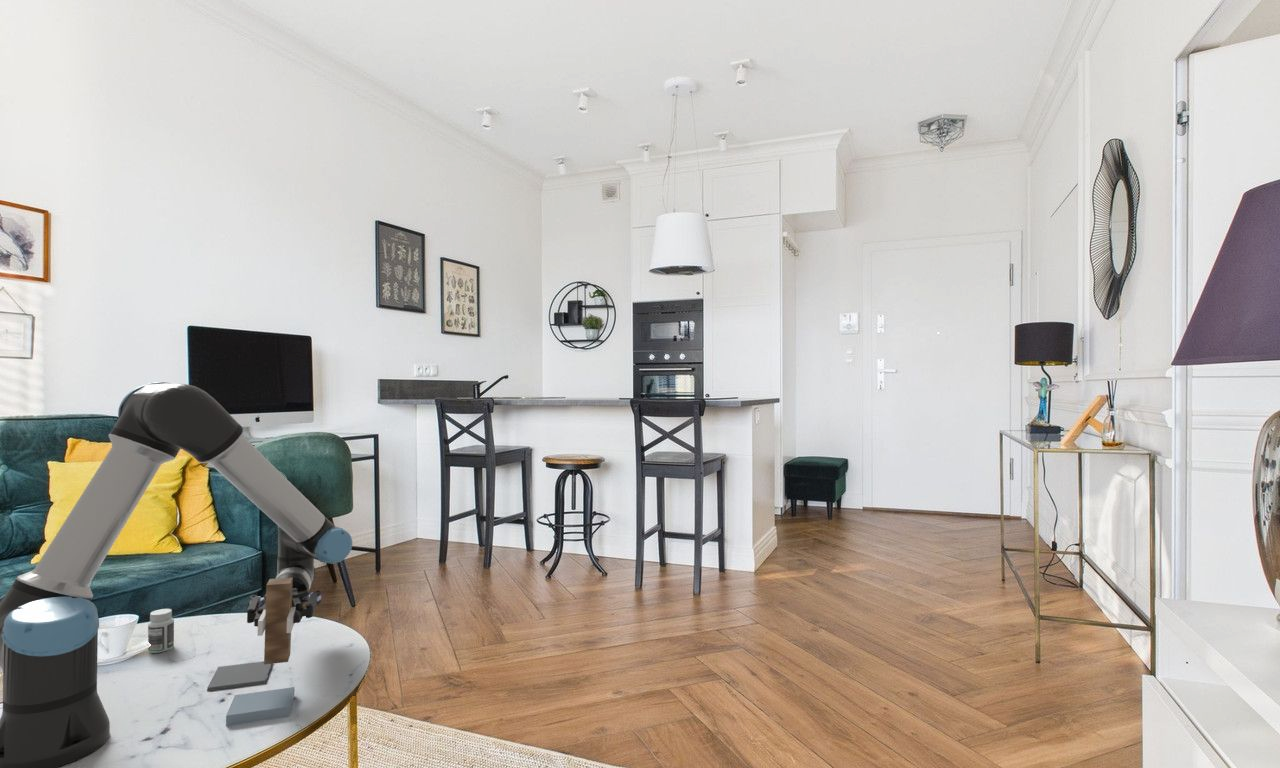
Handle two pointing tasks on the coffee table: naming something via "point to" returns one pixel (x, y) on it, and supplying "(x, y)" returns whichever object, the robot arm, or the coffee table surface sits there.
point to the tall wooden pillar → (277, 620)
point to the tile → (260, 706)
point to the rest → (239, 675)
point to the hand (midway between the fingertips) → (274, 626)
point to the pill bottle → (161, 631)
